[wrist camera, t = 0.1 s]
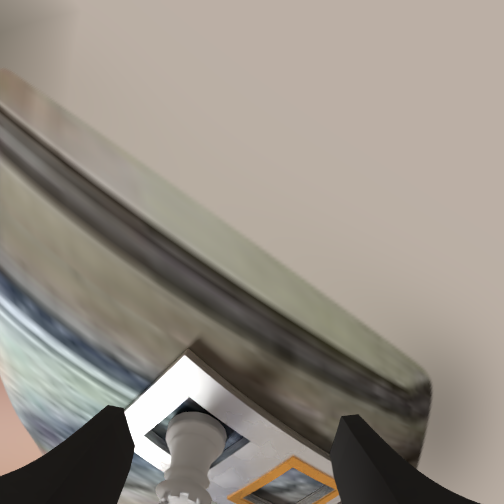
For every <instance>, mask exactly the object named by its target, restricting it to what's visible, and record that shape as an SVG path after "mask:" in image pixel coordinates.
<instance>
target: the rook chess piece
mask: <svg viewBox="0 0 504 504" xmlns="http://www.w3.org/2000/svg"><path fill="white" fill-rule="evenodd" d="M226 439H227V435H226V431H225V428H224V427H223V426H222V425H221V423H220V422H219V421H218V420H216V419H214V418H213V417H211V416H209V415H208V414H204V413H200V412H183V413H181V414H178V415H176V416H174V417H173V418H172V419H171V420H170V422H169V423H168V429H167V432H166V442H167V445H168V448H169V450H170V453H171V464H170V468H168V469H167V470H166V471H165V474H164V478H165V481H162V482H160V483H159V484H158V485H157V486H156V491H155V492H156V494H157V496H158V497H159V500H160V501H159V504H211V501H212V498H211V496H210V493H209V492H208V491H207V490H206V489H207V488H208V487H209V484H210V481H209V478H208V477H207V476H208V471H209V468H210V465H211V464H212V463H213V462H214V461H215V460H216V459H217V458H218V457H219V456H220V455H221V454H222V453H223V450H224V447H225V442H226Z"/></svg>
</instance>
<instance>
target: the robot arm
mask: <svg viewBox="0 0 504 504" xmlns="http://www.w3.org/2000/svg"><path fill="white" fill-rule="evenodd" d="M134 449H135V443H134V440H133V437H132V434H131V431H130V428H129V424H128V421H127V418H126V414H125V411H124V408H121V407H115V406H110V405H107V406H106V407H105V408H104V409H102V410H101V411H100V412H99V413H98V414H96V415H95V416H94V417H93V418H92V419H91V420H89V421H88V422H87V423H86V424H85V425H83V426H82V427H81V428H80V429H79V430H77V431H76V432H75V433H74V434H72V435H71V436H70V437H69V438H67V439H66V440H65V441H63V442H62V443H61V444H59V445H58V446H56V447H55V448H54V449H52V450H51V451H49V452H48V453H46V454H45V455H43V456H42V457H40V458H38V459H37V460H35V461H33V462H31V463H29V464H28V465H26V466H24V467H22V468H19V469H17V470H15V471H12V472H10V473H8V474H5V475H2V476H0V504H117V502H118V500H119V497H120V494H121V492H122V489H123V486H124V484H125V481H126V478H127V476H128V473H129V470H130V467H131V463H132V459H133V454H134ZM330 457H331V464H332V470H333V476H334V480H335V483H336V486H337V489H338V493H339V496H340V499H341V502H342V504H480V503H477V502H474V501H472V500H469V499H466V498H465V497H462V496H460V495H458V494H456V493H454V492H452V491H450V490H448V489H446V488H444V487H442V486H441V485H439V484H437V483H435V482H434V481H433V480H431V479H429V478H428V477H426V476H425V475H424V474H422V473H421V472H419V471H418V470H417V469H416V468H414V467H413V466H412V465H410V464H409V463H408V462H407V461H406V460H405V459H403V458H402V457H401V456H400V455H399V454H398V453H397V452H396V451H394V450H393V449H392V448H391V447H390V446H389V445H388V444H387V443H386V442H385V441H384V440H383V439H382V438H381V437H380V436H379V435H378V434H377V433H376V432H375V431H374V430H373V429H372V428H371V427H370V426H369V425H368V424H367V423H366V422H365V421H364V420H363V419H362V418H361V417H360V416H359V415H358V414H356V415H348V416H341V419H340V422H339V426H338V429H337V432H336V435H335V439H334V442H333V445H332V448H331V451H330Z"/></svg>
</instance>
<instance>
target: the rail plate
mask: <svg viewBox="0 0 504 504" xmlns="http://www.w3.org/2000/svg"><path fill="white" fill-rule="evenodd" d="M189 397H190V398H192V399H193V400H194V401H195V402H197V403H198V404H199V405H201V406H202V407H203V408H204V409H206V410H207V411H208V412H210V413H211V414H212V415H214V416H215V417H216V418H218V419H219V420H221V421H222V422H223V423H225V424H226V425H228V426H229V427H230V428H232V429H233V430H235V431H236V432H238V433H239V434H241V435H242V436H244V437H243V438H242V439H240V440H239V441H237V442H236V443H235V444H233V445H232V446H231V447H229V448H228V449H226V450H225V451H223V453H222V454H221V455H220V456H219V457H218V458H217V459H216V460H215V461H214V462H213V463H212V464H211V465H210V468H209V471H208V476H207V477H208V478H209V481H210V484H209V487H208V488H207V489H206V490H207V491H208V492H209V493H210V496H211V498H212V501H214V502H216V503H218V504H273V503H271V502H269V501H267V500H265V499H262V498H260V497H258V496H256V495H254V494H252V492H254V491H256V490H258V489H259V488H261V487H263V486H264V485H266V484H267V483H269V482H271V481H272V480H274V479H276V478H277V477H279V476H280V475H282V474H283V473H285V472H286V471H288V470H289V469H291V468H292V467H293V468H295V469H297V470H299V471H301V472H302V473H304V474H306V475H308V476H310V477H312V478H314V479H315V480H317V481H319V482H321V483H323V484H325V486H323V487H322V488H320V489H318V490H317V491H315V492H314V493H312V494H311V495H309V496H307V497H306V498H304V499H302V500H301V501H299V502H297V503H296V504H337V503H338V502H340V501H341V499H340V496H339V493H338V489H337V486H336V483H335V480H334V476H333V470H332V464H331V457H330V454H329V453H327V452H326V451H324V450H322V449H321V448H319V447H318V446H316V445H315V444H313V443H312V442H310V441H308V440H307V439H305V438H304V437H302V436H301V435H299V434H298V433H296V432H295V431H294V430H292V429H291V428H289V427H288V426H286V425H285V424H283V423H282V422H281V421H279V420H278V419H276V418H275V417H274V416H272V415H271V414H269V413H268V412H267V411H265V410H264V409H263V408H261V407H260V406H259V405H257V404H256V403H255V402H253V401H252V400H251V399H249V398H248V397H247V396H245V395H244V394H243V393H242V392H240V391H239V390H238V389H236V388H235V387H234V386H233V385H231V384H230V383H229V382H228V381H226V380H225V379H224V378H223V377H222V376H220V375H219V374H218V373H217V372H215V371H214V370H213V369H212V368H211V367H209V366H208V365H207V364H206V363H205V362H204V361H202V360H201V359H200V358H199V357H198V356H197V355H195V354H194V353H193V352H192V351H191V350H190V349H189V348H188V349H187V350H186V351H185V352H184V353H183V354H182V355H181V356H180V357H179V358H178V359H177V360H175V361H174V362H173V363H172V364H171V365H170V366H169V367H168V368H167V369H166V370H165V371H164V372H163V373H162V374H161V375H160V376H159V377H158V378H157V379H156V380H155V381H154V382H153V383H152V384H151V385H150V386H149V387H148V388H147V389H146V390H145V391H144V392H142V393H141V394H140V395H139V396H138V397H137V398H136V399H135V400H134V401H133V402H132V403H131V404H130V405H129V406H128V407H127V408H126V409H125V410H124V411H125V414H126V418H127V421H128V424H129V428H130V431H131V434H132V437H133V440H134V443H135V449H134V452H135V453H137V454H138V455H140V456H141V457H142V458H144V459H145V460H147V461H148V462H149V463H151V464H152V465H154V466H155V467H157V468H158V469H160V470H161V471H163V472H164V473H165V471H166V470H167V469H168V468H170V464H171V453H170V450H169V448H168V445H167V442H166V441H165V440H164V439H163V438H161V437H160V436H158V435H157V434H156V433H154V432H153V431H152V430H151V429H152V428H153V427H154V426H156V425H157V424H158V423H159V422H160V421H162V420H163V419H164V418H165V417H166V416H168V415H169V414H170V413H171V412H172V411H173V410H175V409H176V408H177V407H178V406H179V405H180V404H182V403H183V402H184V401H185V400H186V399H187V398H189Z"/></svg>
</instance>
